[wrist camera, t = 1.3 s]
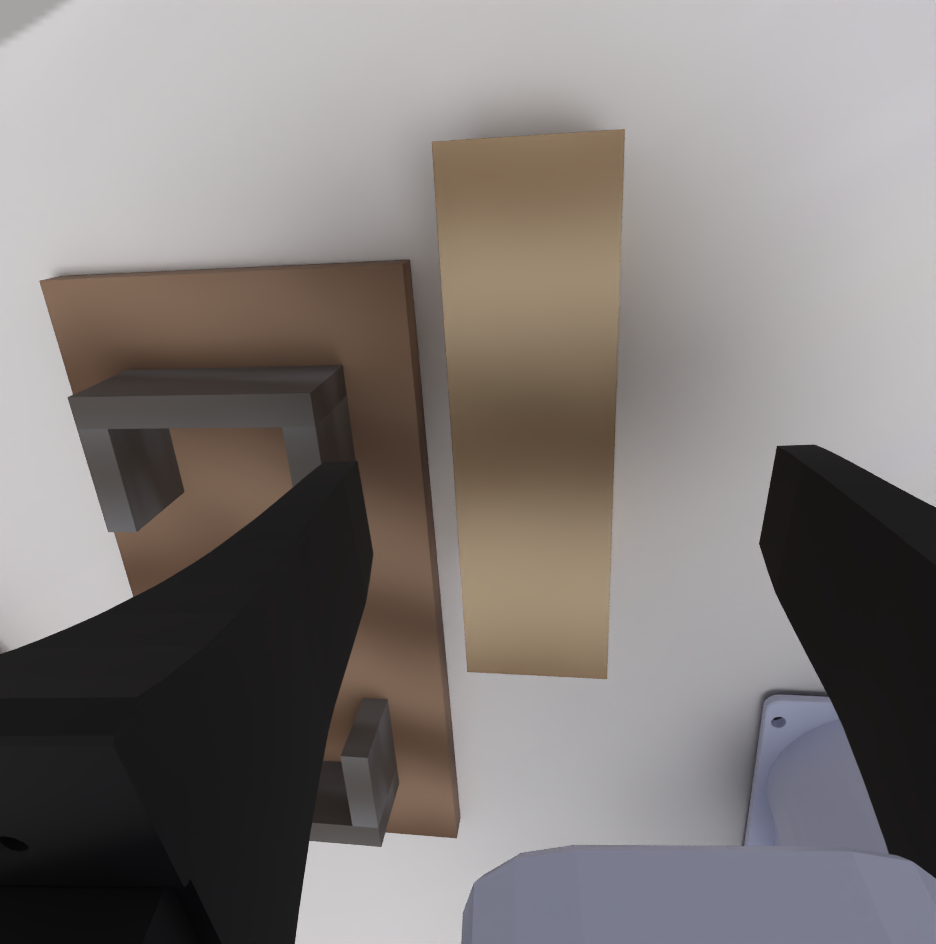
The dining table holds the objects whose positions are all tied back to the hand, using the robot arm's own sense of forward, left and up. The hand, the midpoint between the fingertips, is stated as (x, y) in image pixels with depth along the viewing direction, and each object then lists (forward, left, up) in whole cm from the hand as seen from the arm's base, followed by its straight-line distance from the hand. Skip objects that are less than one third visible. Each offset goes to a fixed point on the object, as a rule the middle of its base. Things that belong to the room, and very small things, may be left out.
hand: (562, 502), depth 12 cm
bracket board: (-9, +11, -11) cm, 18 cm away
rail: (-1, +1, -11) cm, 11 cm away
